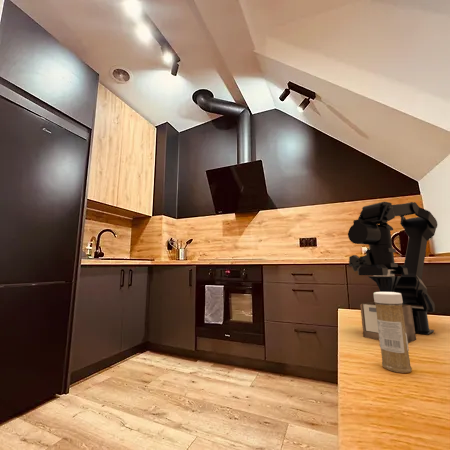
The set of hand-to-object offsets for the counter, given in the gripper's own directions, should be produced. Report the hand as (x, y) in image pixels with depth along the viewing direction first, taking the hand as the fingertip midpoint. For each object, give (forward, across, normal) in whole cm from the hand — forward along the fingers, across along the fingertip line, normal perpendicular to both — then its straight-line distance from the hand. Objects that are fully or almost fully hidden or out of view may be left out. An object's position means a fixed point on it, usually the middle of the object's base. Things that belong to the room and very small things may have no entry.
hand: (387, 301), depth 68 cm
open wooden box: (+9, +2, 0) cm, 9 cm away
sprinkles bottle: (+9, +25, +9) cm, 28 cm away
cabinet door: (+8, +6, 0) cm, 10 cm away
